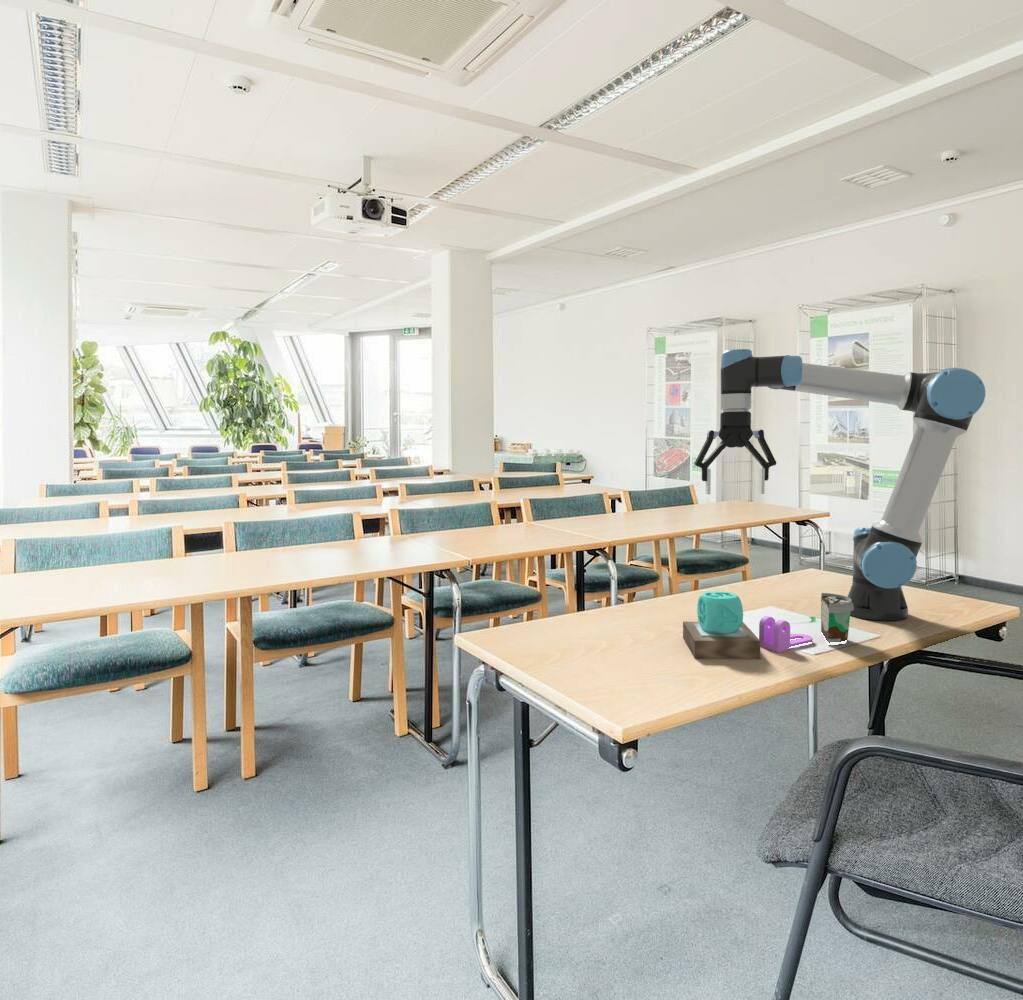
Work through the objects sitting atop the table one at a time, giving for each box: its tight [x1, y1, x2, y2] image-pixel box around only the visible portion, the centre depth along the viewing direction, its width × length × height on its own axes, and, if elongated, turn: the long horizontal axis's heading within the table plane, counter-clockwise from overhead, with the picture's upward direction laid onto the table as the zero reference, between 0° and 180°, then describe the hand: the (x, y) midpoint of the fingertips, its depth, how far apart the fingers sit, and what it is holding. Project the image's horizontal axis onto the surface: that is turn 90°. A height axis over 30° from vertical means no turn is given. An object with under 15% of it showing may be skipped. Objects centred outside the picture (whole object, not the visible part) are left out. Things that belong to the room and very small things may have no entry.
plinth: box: [682, 621, 761, 660], centre depth 172 cm, size 14×16×4 cm
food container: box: [820, 592, 854, 643], centre depth 176 cm, size 12×6×10 cm, turn 166°
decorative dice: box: [696, 590, 744, 634], centre depth 172 cm, size 8×8×8 cm
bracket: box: [758, 615, 814, 653], centre depth 174 cm, size 13×6×7 cm, turn 119°
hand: (734, 493), depth 196 cm, fingers open, 13 cm apart
